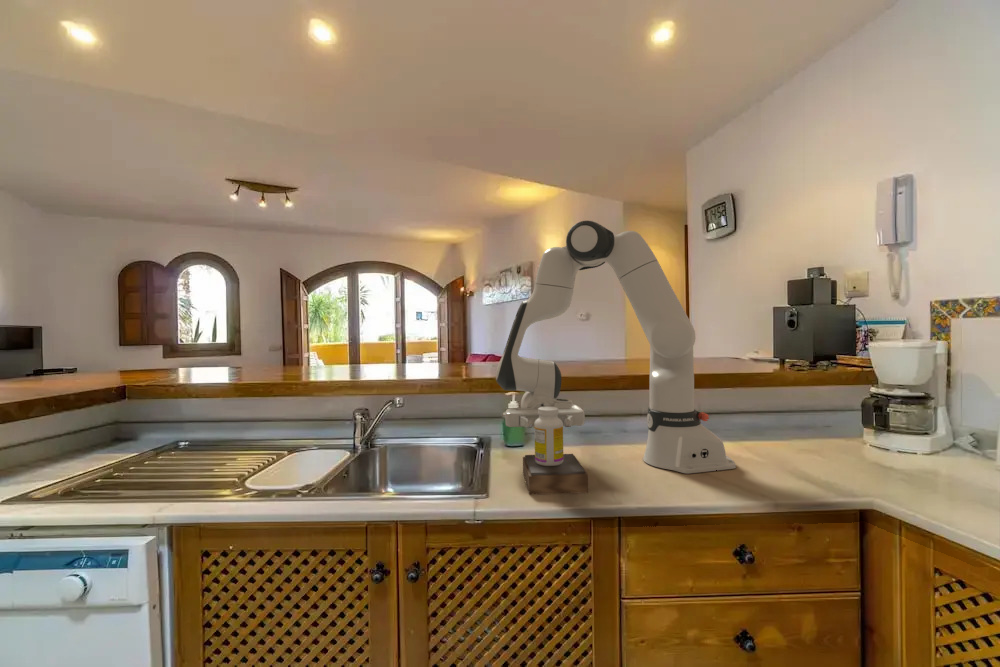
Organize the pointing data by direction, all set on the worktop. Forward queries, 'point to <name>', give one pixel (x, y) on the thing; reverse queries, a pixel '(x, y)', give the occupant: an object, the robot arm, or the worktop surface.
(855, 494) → the worktop surface
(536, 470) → the block
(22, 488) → the worktop surface
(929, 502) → the worktop surface
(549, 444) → the supplement bottle
